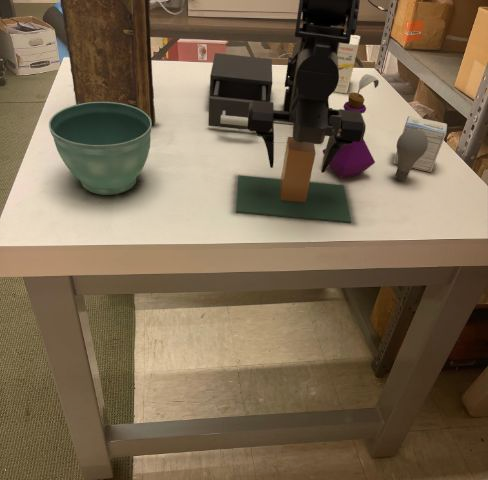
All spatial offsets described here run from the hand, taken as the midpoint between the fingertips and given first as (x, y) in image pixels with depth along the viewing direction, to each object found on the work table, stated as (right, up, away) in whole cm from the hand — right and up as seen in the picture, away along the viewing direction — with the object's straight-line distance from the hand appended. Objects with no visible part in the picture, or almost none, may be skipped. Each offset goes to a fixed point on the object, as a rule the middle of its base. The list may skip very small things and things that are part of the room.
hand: (296, 169), depth 86 cm
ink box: (+14, +36, +44) cm, 59 cm away
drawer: (-11, +18, +22) cm, 30 cm away
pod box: (0, -3, +4) cm, 5 cm away
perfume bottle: (+11, +3, +12) cm, 16 cm away
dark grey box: (-10, +27, +32) cm, 43 cm away
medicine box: (+26, +6, +17) cm, 32 cm away
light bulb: (+22, +1, +12) cm, 25 cm away
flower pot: (-33, -2, +2) cm, 33 cm away
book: (-37, +16, +19) cm, 44 cm away
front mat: (-1, -4, +3) cm, 5 cm away
